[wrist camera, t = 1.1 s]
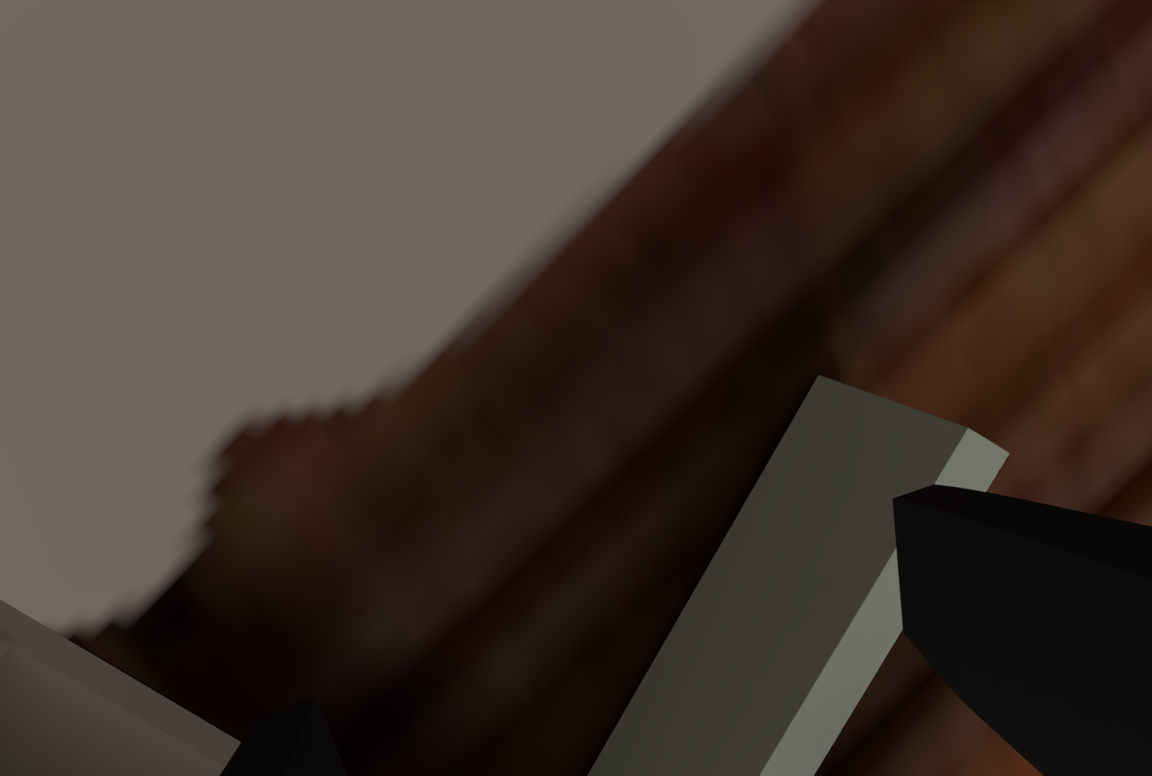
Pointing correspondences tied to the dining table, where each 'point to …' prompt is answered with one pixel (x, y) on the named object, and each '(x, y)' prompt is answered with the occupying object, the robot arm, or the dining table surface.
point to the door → (795, 596)
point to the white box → (91, 714)
